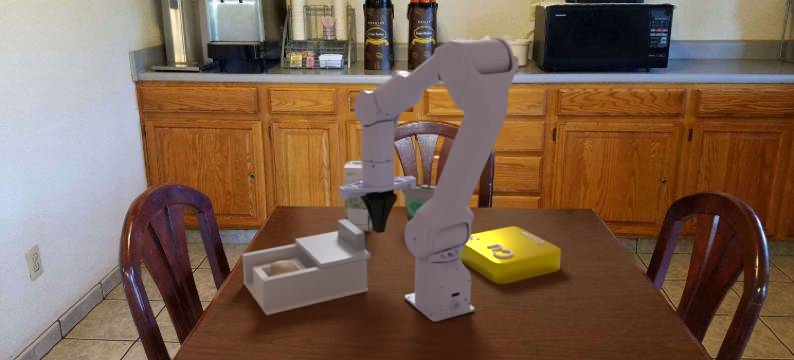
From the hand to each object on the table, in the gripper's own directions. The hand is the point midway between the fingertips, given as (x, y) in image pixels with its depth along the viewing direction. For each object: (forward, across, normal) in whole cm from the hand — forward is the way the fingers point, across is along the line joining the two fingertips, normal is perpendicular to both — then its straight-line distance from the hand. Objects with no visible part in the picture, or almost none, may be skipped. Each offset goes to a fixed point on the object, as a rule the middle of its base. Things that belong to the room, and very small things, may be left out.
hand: (378, 230), depth 115 cm
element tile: (+8, -23, +8) cm, 26 cm away
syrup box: (+8, -6, -22) cm, 24 cm away
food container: (+8, -18, -14) cm, 25 cm away
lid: (+2, +9, 0) cm, 9 cm away
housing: (+8, +14, 0) cm, 16 cm away
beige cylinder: (+7, +18, 0) cm, 20 cm away
